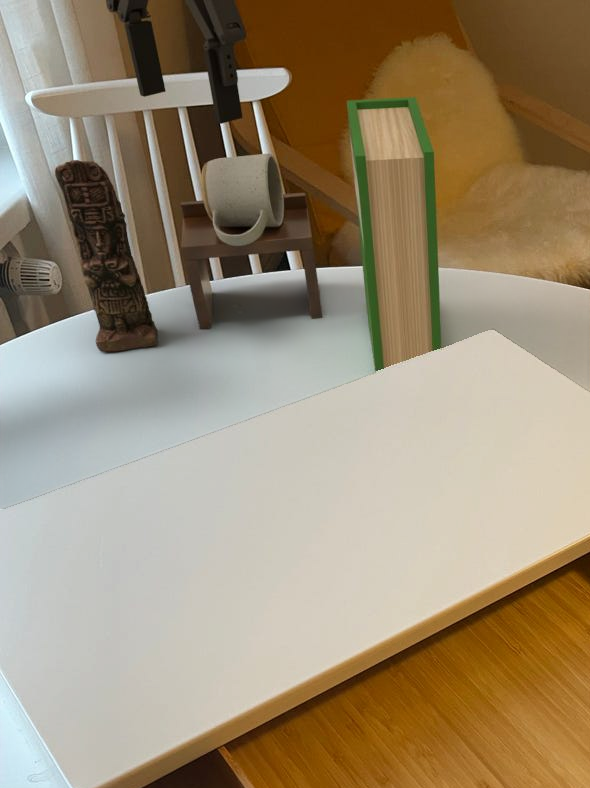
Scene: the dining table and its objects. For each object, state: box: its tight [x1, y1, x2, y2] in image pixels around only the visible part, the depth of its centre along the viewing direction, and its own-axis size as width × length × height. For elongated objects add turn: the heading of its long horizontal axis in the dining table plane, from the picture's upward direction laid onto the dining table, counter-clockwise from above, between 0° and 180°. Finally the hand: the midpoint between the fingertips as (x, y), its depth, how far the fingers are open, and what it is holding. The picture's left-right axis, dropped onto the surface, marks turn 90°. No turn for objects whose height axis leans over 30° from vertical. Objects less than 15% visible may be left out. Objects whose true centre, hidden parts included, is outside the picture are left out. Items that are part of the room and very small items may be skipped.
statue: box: [54, 159, 159, 352], centre depth 106 cm, size 7×7×20 cm
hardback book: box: [346, 96, 442, 372], centre depth 103 cm, size 18×7×24 cm, turn 8°
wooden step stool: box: [180, 192, 323, 330], centre depth 115 cm, size 15×10×12 cm, turn 101°
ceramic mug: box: [200, 153, 284, 246], centre depth 108 cm, size 11×8×8 cm
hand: (190, 106), depth 98 cm, fingers open, 13 cm apart
